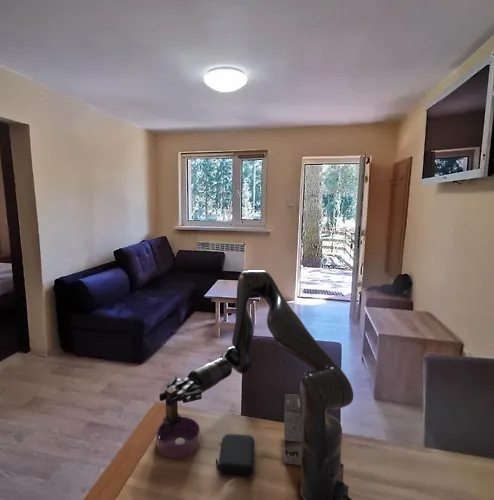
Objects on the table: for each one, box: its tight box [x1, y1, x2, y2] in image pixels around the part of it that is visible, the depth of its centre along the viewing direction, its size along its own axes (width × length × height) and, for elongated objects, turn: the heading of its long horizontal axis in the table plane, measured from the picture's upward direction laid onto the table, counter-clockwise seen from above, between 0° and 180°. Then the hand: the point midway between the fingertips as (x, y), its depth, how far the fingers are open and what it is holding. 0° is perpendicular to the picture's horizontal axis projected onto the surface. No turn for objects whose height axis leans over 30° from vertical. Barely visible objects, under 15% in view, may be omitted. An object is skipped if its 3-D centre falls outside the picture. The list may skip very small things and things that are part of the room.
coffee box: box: [283, 393, 303, 466], centre depth 97 cm, size 9×6×16 cm
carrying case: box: [215, 433, 255, 478], centre depth 96 cm, size 11×3×15 cm
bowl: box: [155, 416, 201, 459], centre depth 102 cm, size 13×13×4 cm
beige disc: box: [175, 438, 185, 445], centre depth 102 cm, size 3×3×1 cm
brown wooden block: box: [162, 387, 182, 428], centre depth 103 cm, size 4×3×11 cm
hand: (163, 400), depth 100 cm, fingers closed on brown wooden block, 2 cm apart
